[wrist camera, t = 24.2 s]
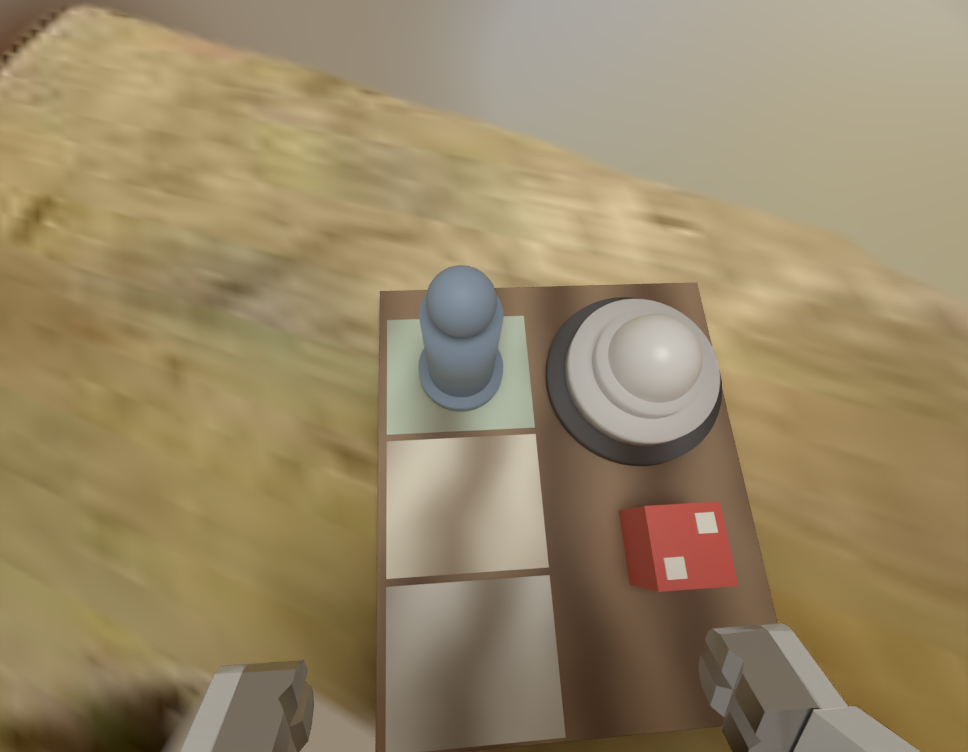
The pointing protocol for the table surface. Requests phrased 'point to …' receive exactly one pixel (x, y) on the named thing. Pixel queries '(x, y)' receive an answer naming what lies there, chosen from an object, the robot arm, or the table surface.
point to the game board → (539, 547)
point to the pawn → (461, 339)
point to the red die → (677, 547)
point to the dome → (642, 372)
